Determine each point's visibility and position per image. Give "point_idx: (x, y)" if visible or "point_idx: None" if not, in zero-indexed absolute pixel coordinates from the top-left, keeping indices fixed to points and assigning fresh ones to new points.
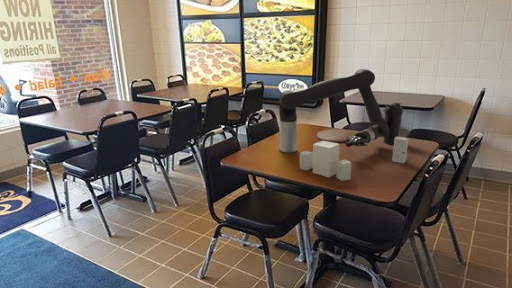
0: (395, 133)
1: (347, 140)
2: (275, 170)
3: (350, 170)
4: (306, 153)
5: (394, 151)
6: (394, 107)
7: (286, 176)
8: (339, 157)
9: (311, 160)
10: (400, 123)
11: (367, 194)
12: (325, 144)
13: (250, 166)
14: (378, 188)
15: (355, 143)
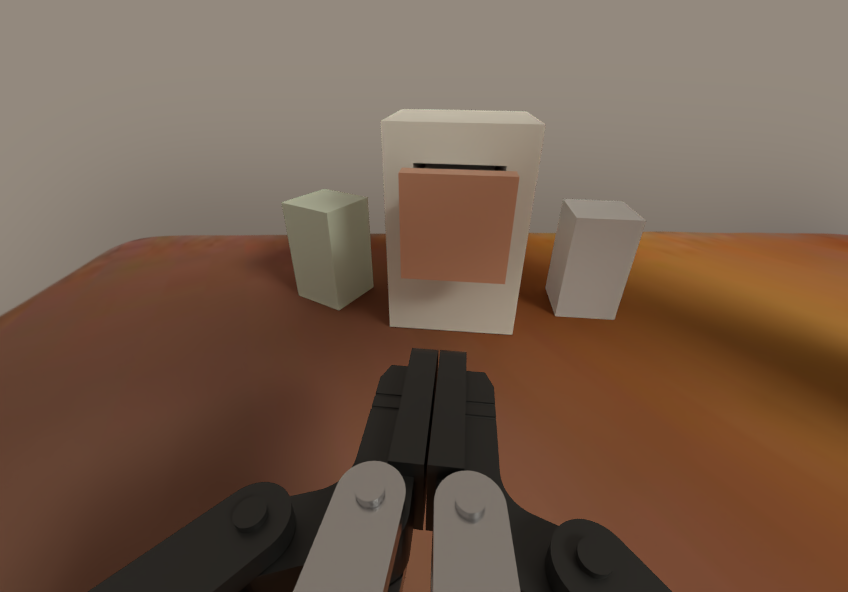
0: None
1: (578, 531)
2: (642, 251)
3: (292, 248)
4: (588, 205)
5: None
6: None
7: (552, 238)
8: (402, 270)
9: (562, 261)
10: None
11: (214, 243)
12: (462, 114)
13: (750, 243)
14: (155, 278)
15: (312, 510)
